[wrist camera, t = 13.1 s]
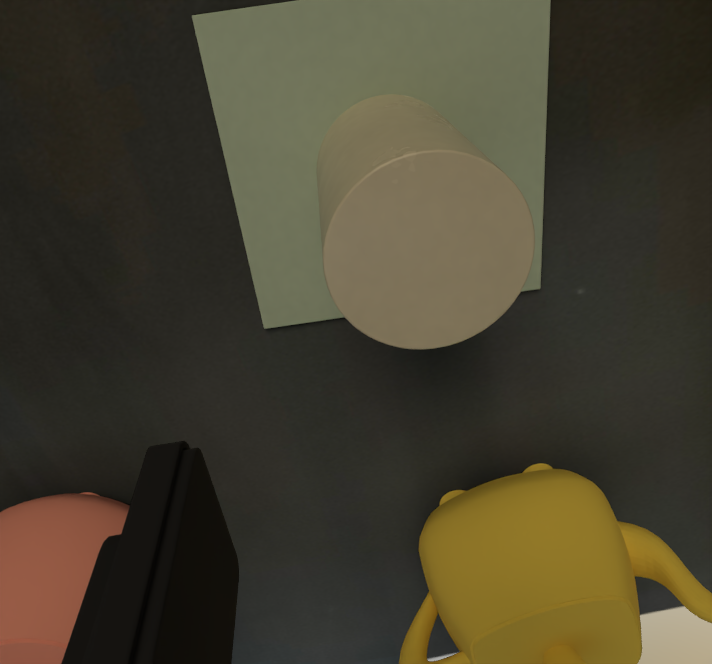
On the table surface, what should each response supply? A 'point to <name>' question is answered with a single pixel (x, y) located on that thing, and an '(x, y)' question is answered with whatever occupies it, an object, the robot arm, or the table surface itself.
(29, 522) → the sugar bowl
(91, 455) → the table surface
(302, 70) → the mat
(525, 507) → the teapot
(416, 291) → the beige cylinder
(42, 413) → the table surface
